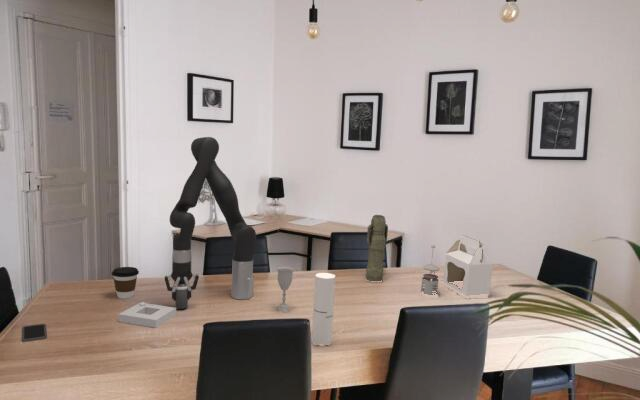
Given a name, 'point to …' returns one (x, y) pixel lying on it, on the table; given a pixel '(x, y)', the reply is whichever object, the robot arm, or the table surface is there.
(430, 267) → the french press
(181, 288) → the lens
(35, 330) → the cell phone
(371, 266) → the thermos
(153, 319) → the plate
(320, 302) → the cylindrical container
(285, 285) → the chalice
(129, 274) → the coffee cup
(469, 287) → the gable box
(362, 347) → the table surface
